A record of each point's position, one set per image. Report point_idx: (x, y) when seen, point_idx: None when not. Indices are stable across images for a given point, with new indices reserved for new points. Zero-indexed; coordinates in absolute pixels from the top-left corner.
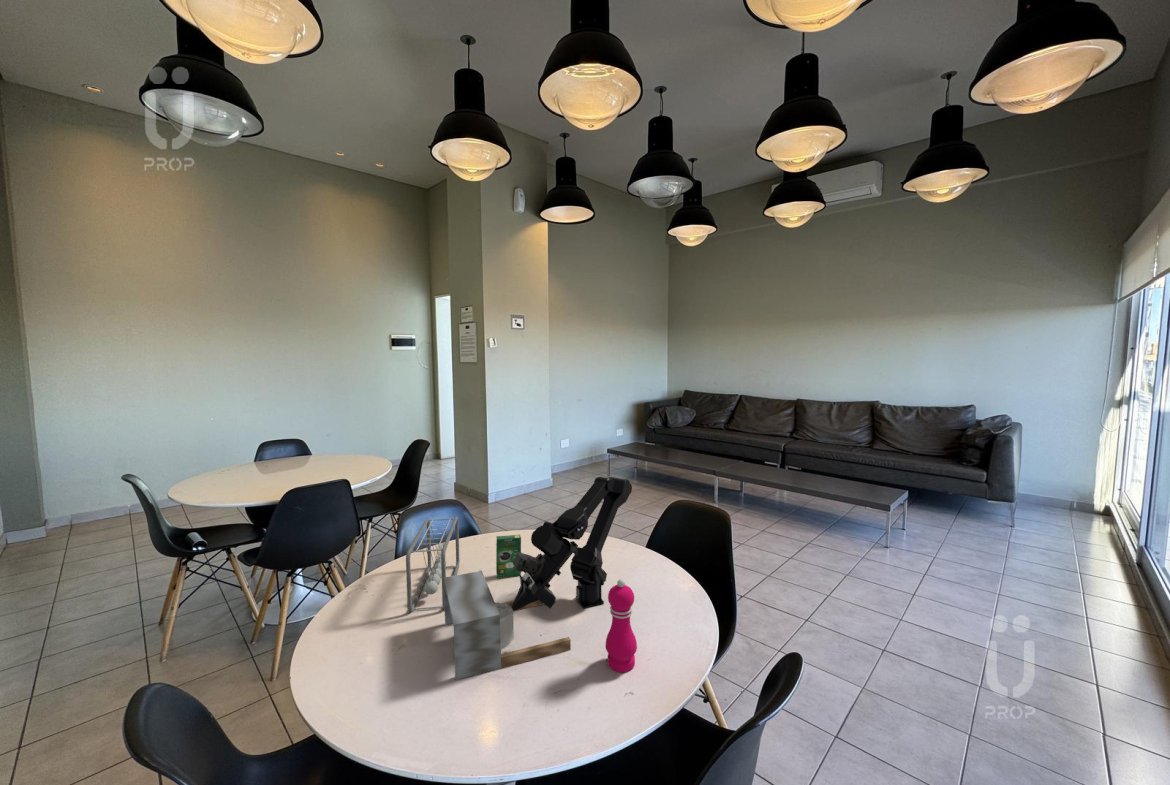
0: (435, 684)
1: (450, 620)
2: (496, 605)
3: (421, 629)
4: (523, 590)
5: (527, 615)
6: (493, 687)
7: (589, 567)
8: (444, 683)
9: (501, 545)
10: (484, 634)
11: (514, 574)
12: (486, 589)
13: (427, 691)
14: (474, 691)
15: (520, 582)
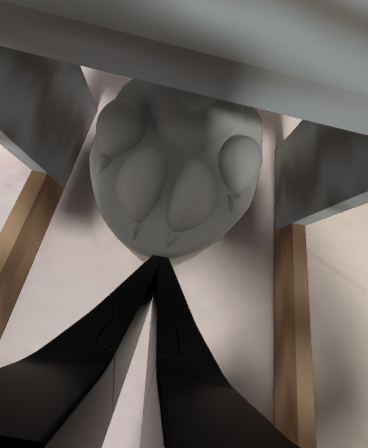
0: (101, 82)
1: (282, 152)
2: (181, 178)
3: (282, 115)
4: (92, 363)
5: (231, 354)
6: (4, 149)
7: None
8: (92, 92)
9: None
10: None
11: None
12: (232, 45)
13: (93, 69)
14: None
15: (245, 404)
